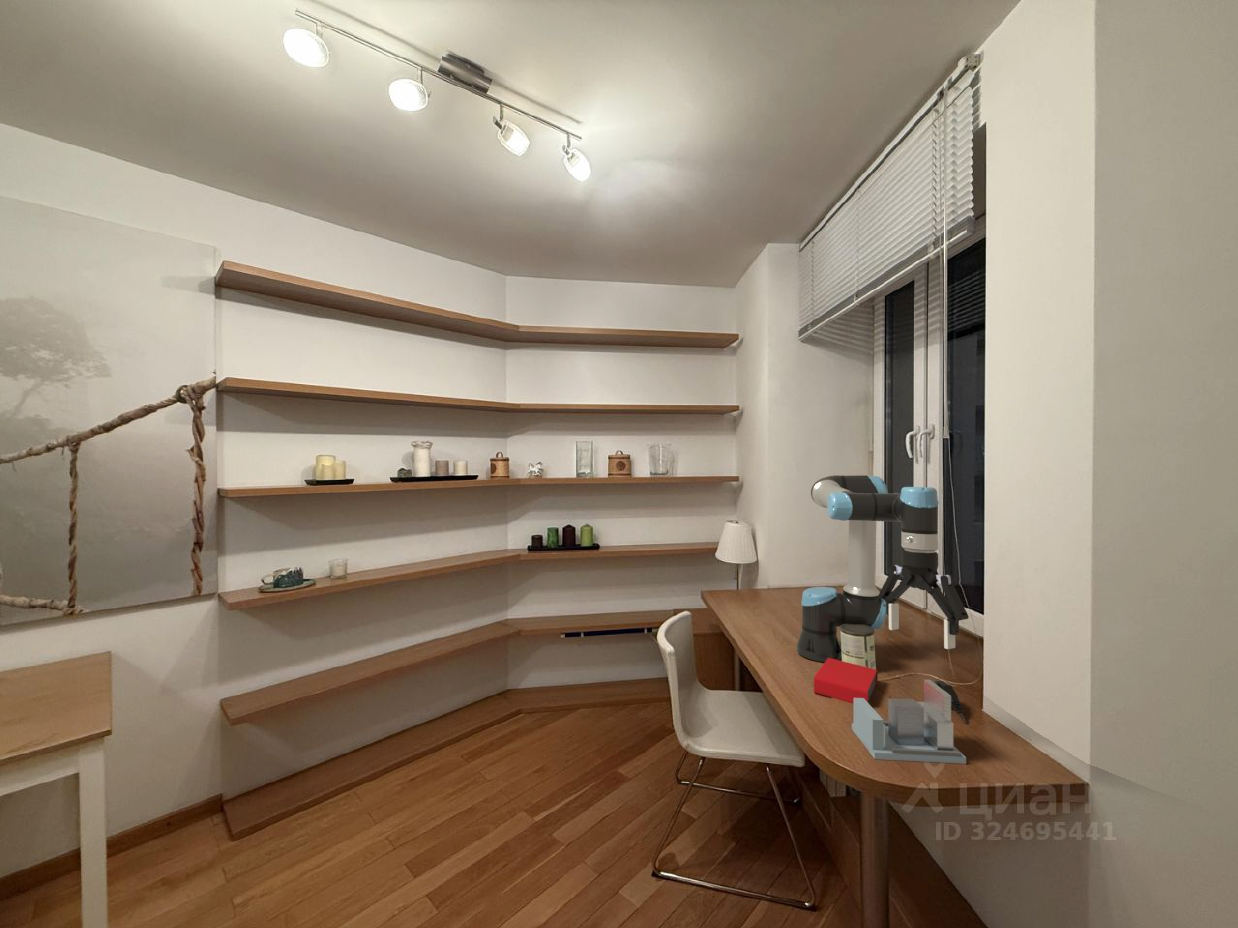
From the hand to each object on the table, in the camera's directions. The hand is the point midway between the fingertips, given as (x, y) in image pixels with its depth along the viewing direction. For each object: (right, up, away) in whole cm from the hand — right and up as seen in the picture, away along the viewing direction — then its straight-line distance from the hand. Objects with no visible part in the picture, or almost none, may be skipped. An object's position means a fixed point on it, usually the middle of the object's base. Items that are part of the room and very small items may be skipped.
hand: (920, 638), depth 109 cm
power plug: (+18, -28, +10) cm, 35 cm away
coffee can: (+7, -27, +42) cm, 51 cm away
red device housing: (-4, -27, +28) cm, 39 cm away
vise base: (-5, -26, 0) cm, 26 cm away
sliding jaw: (+3, -24, -1) cm, 24 cm away
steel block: (-4, -24, -1) cm, 25 cm away
